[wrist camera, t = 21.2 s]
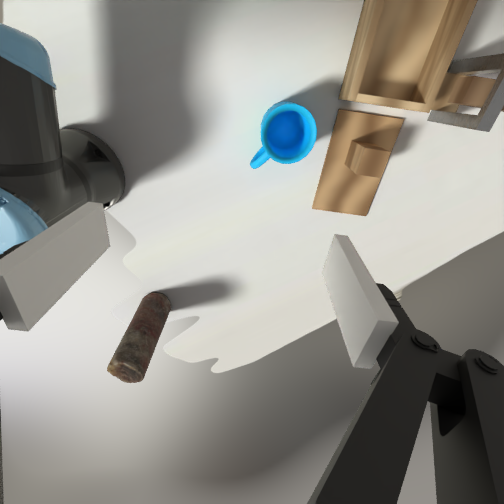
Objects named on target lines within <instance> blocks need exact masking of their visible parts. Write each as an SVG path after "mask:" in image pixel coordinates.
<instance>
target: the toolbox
mask: <svg viewBox="0 0 504 504" xmlns="http://www.w3.org/2000/svg"><path fill="white" fill-rule="evenodd" d="M477 1H478V0H364V4H363V7H362V11H361V15H360V19H359V23H358V26H357V30H356V34H355V38H354V42H353V45H352V49H351V53H350V57H349V60H348V64H347V68H346V72H345V76H344V79H343V83H342V87H341V91H340V95H339V98H338V99H342V100H348V101H355V102H361V103H368V104H374V105H380V106H387V107H393V108H400V109H406V110H413V111H420V112H427V113H429V112H430V110H437V111H445V112H453V113H456V111H457V109H458V107H459V104H453V103H447V102H448V100H449V98H450V96H451V94H452V91H453V89H454V87H455V85H456V83H457V80H458V78H459V77H467V76H465V75H459V74H453V73H447V70H448V68H449V66H450V63H451V61H452V59H453V56H454V54H455V52H456V49H457V47H458V45H459V42H460V40H461V38H462V35H463V33H464V31H465V28H466V26H467V24H468V21H469V19H470V17H471V15H472V12H473V10H474V8H475V5H476V3H477Z"/></svg>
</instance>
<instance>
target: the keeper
mask: <svg viewBox="0 0 504 504" xmlns="http://www.w3.org/2000/svg"><path fill="white" fill-rule="evenodd" d="M448 73H453V74H459V75H471V74H486V73H500V74H499V75H498V77H497V79H496V81H495V83H494V85H493V87H492V89H491V91H490V93H489V95H488V97H487V99H486V100H485V102H484V104H483V106H482V108H481V110H480V112H479V114H478V115H470V114H462V113H453V112H445V111H437V110H432V111H431V113H430V115H429V118H428V120H427V121H432V122H437V123H442V124H448V125H453V126H458V127H464V128H469V129H474V130H480V131H487V132H489V131H490V129H491V128H492V126H493V124H494V122H495V120H496V119H497V117H498V115H499V113H500V111H501V110H502V108H503V106H504V54H497V55H490V56H483V57H476V58H470V59H463V60H456V61H453V62H452V65H451V67H450V69H449V71H448Z"/></svg>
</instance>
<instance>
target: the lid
mask: <svg viewBox="0 0 504 504" xmlns="http://www.w3.org/2000/svg"><path fill="white" fill-rule="evenodd" d="M403 121H404V119H398V118H392V117H385V116H379V115H372V114H366V113H360V112H353V111H347V110H341V109H339V110H338V114H337V117H336V121H335V125H334V128H333V132H332V136H331V139H330V143H329V147H328V150H327V154H326V158H325V161H324V165H323V169H322V173H321V176H320V180H319V184H318V187H317V191H316V195H315V198H314V202H313V206H312V209H318V210H325V211H332V212H339V213H346V214H354V215H361V216H366V215H367V212H368V210H369V207H370V205H371V202H372V200H373V197H374V195H375V192H376V190H377V187H378V185H379V182H380V179H381V177H382V174H383V172H384V169H385V167H386V164H387V162H388V159H389V157H390V154H391V152H392V149H393V146H394V144H395V141H396V139H397V136H398V134H399V131H400V129H401V126H402V124H403Z"/></svg>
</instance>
